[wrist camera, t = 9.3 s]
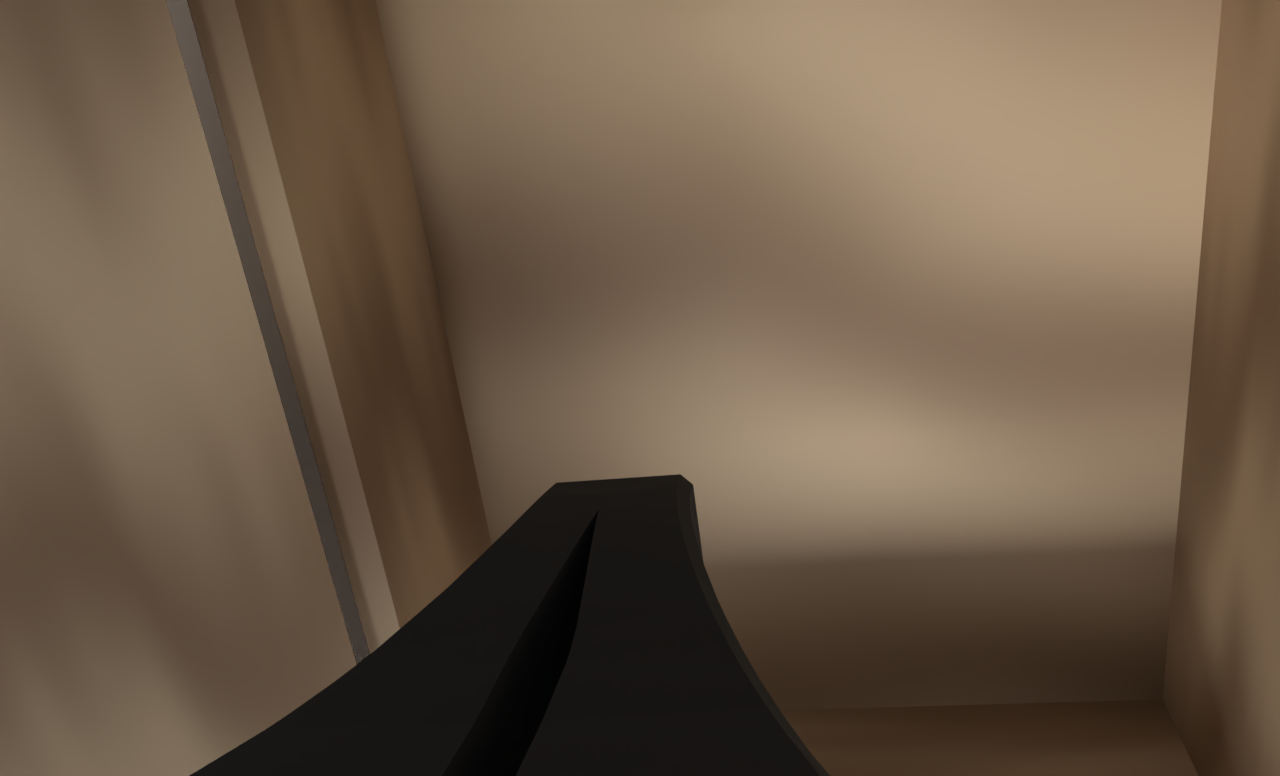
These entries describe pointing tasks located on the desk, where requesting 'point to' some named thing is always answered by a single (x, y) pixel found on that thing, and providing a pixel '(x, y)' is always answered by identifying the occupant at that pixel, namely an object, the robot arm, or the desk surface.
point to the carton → (812, 335)
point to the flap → (137, 424)
